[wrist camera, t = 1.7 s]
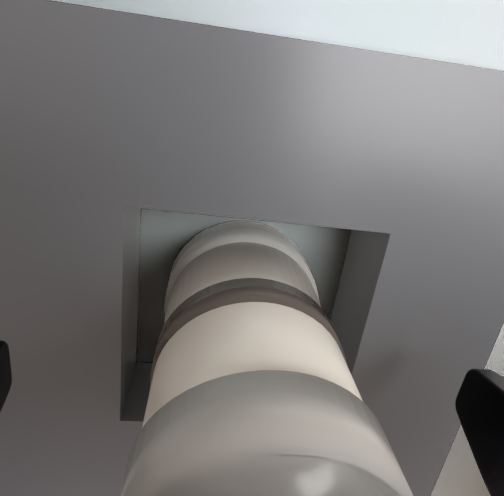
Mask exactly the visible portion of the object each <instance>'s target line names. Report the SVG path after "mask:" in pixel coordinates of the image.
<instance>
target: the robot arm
mask: <svg viewBox="0 0 504 496" xmlns="http://www.w3.org/2000/svg"><path fill="white" fill-rule="evenodd" d="M11 384H12V371H11V362H10V353H9V346H8V344H7V343H6V342H5V341H3V340H0V412H1V410H2V408H3V405H4V403H5V401H6V398H7V396H8V393H9V391H10V388H11ZM455 408H456V412H457V415H458V417H459V420H460V422H461V425H462V427H463V430H464V432H465V435H466V437H467V440H468V442H469V445H470V448H471V450H472V453H473V455H474V458H475V460H476V463H477V465H478V468H479V470H480V473H481V475H482V477H483V480H484V482H485V484H486V487H487V489H488V491H489V493H490V495H491V496H504V377H502V376H501V375H499V374H497V373H495V372H494V371H491V370H488V369H470V370H469V371H468V372H467V373H466V375H465V377H464V380H463V382H462V385H461V387H460V389H459V392H458V394H457V397H456V401H455Z"/></svg>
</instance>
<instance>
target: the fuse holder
mask: <svg viewBox="0 0 504 496" xmlns="http://www.w3.org/2000/svg"><path fill="white" fill-rule="evenodd" d="M141 208H142V209H152V210H162V211H172V212H181V213H191V214H201V215H211V216H221V217H231V218H241V219H251V220H261V221H271V222H281V223H291V224H301V225H311V226H321V227H331V228H341V229H351V234H350V239H349V243H348V247H347V251H346V255H345V260H344V264H343V268H342V272H341V276H340V281H339V285H338V289H337V293H336V298H335V302H334V306H333V310H332V314H331V319H330V322H331V324H332V326H333V328H334V330H335V332H336V335H337V337H338V339H339V341H340V343H341V346H342V348H343V350H344V353H345V357H346V360H347V366H348V368H349V371H350V373H351V375H352V378H353V380H354V382H355V384H356V387H357V389H358V391H359V394H360V396H361V398H362V400H363V402H364V403H365V404H366V405H367V406H368V407H369V408H370V409H371V411H372V412H373V413H374V415H375V416H376V418H377V419H378V421H379V423H380V425H381V427H382V429H383V431H384V433H385V435H386V437H387V440H388V442H389V444H390V446H391V448H392V450H393V453H394V455H395V457H396V459H397V461H398V464H399V466H400V468H401V470H402V472H403V474H404V477H405V479H406V481H407V483H408V485H409V488H410V490H411V492H412V494H413V496H431V493H432V491H433V488H434V486H435V484H436V481H437V479H438V477H439V474H440V472H441V470H442V467H443V465H444V462H445V460H446V458H447V455H448V453H449V451H450V448H451V446H452V443H453V441H454V439H455V436H456V434H457V432H458V429H459V427H460V425H461V422H460V420H459V417H458V415H457V412H456V408H455V401H456V397H457V394H458V392H459V389H460V387H461V385H462V382H463V380H464V377H465V375H466V373H467V372H468V371H469V370H470V369H484V368H485V365H486V363H487V361H488V358H489V356H490V354H491V351H492V349H493V346H494V344H495V342H496V339H497V337H498V335H499V332H500V330H501V328H502V325H503V323H504V71H500V70H494V69H487V68H481V67H475V66H468V65H462V64H455V63H449V62H442V61H436V60H430V59H423V58H417V57H410V56H404V55H397V54H391V53H384V52H378V51H372V50H365V49H359V48H352V47H346V46H339V45H333V44H327V43H320V42H314V41H307V40H301V39H294V38H288V37H282V36H275V35H269V34H262V33H256V32H249V31H243V30H237V29H230V28H224V27H217V26H211V25H204V24H198V23H192V22H185V21H179V20H172V19H166V18H159V17H153V16H147V15H140V14H134V13H127V12H121V11H114V10H108V9H102V8H95V7H89V6H82V5H76V4H69V3H63V2H57V1H50V0H0V340H3V341H5V342H6V343H7V344H8V346H9V353H10V362H11V371H12V384H11V388H10V391H9V393H8V396H7V398H6V401H5V403H4V405H3V408H2V410H1V412H0V496H120V492H121V487H122V483H123V479H124V474H125V470H126V466H127V461H128V457H129V454H130V451H131V448H132V445H133V443H134V441H135V439H136V437H137V435H138V433H139V432H140V430H141V429H142V426H143V421H144V416H145V411H146V407H147V402H148V397H149V392H150V376H151V369H152V365H153V363H142V362H136V345H137V315H138V285H139V255H140V224H141Z"/></svg>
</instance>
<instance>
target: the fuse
mask: <svg viewBox="0 0 504 496" xmlns="http://www.w3.org/2000/svg"><path fill="white" fill-rule="evenodd" d="M164 313H165V321H164V326H163V328H162V330H161V332H160V335H159V339H158V342H157V346H156V351H155V355H154V360H153V365H152V369H151V376H150V392H149V397H148V402H147V407H146V411H145V416H144V421H143V426H142V429H141V430H140V432H139V433H138V435H137V437H136V439H135V441H134V443H133V445H132V448H131V451H130V454H129V457H128V461H127V466H126V470H125V474H124V479H123V483H122V487H121V492H120V496H413V494H412V492H411V490H410V488H409V485H408V483H407V481H406V479H405V477H404V474H403V472H402V470H401V468H400V466H399V464H398V461H397V459H396V457H395V455H394V453H393V450H392V448H391V446H390V444H389V442H388V440H387V437H386V435H385V433H384V431H383V429H382V427H381V425H380V423H379V421H378V419H377V418H376V416H375V415H374V413H373V412H372V411H371V409H370V408H369V407H368V406H367V405H366V404H365V403H364V402H363V400H362V398H361V396H360V394H359V391H358V389H357V387H356V384H355V382H354V380H353V378H352V375H351V373H350V371H349V368H348V366H347V360H346V357H345V353H344V350H343V348H342V346H341V343H340V341H339V339H338V337H337V335H336V332H335V330H334V328H333V326H332V324H331V322H330V320H329V318H328V316H327V314H326V313H325V312H324V310H323V309H322V307H321V304H320V302H319V296H318V290H317V286H316V283H315V280H314V278H313V276H312V274H311V272H310V269H309V267H308V265H307V263H306V261H305V259H304V257H303V255H302V253H301V251H300V250H299V248H298V247H297V246H296V244H295V243H294V242H293V241H292V240H291V239H290V238H288V237H287V236H286V235H285V234H283V233H282V232H280V231H279V230H277V229H275V228H273V227H270V226H268V225H265V224H262V223H258V222H252V221H230V222H225V223H220V224H218V225H215V226H212V227H210V228H207V229H205V230H203V231H202V232H200V233H199V234H197V235H196V236H194V237H193V238H192V239H191V240H190V241H189V242H187V244H186V245H185V246H184V247H183V248H182V249H181V251H180V252H179V254H178V256H177V257H176V259H175V262H174V264H173V267H172V270H171V273H170V278H169V282H168V287H167V291H166V295H165V303H164Z"/></svg>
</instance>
